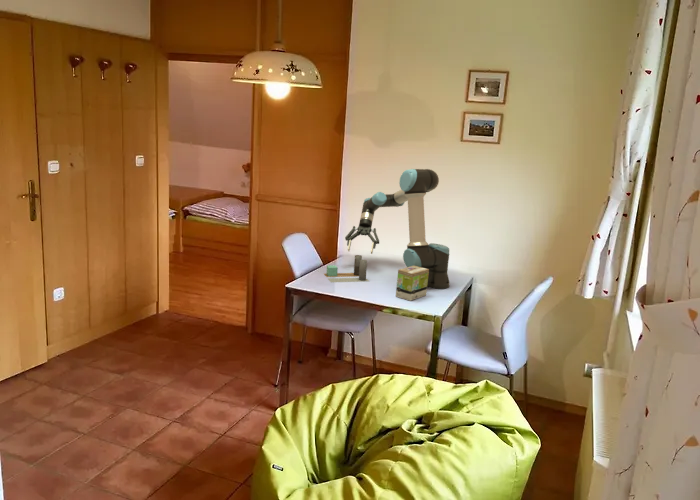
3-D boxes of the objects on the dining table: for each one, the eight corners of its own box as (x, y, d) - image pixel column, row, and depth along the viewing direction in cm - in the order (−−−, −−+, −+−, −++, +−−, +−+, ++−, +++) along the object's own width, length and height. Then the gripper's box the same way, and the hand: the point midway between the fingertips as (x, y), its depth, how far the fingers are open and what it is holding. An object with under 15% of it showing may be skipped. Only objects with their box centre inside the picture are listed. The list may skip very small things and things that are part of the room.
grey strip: (369, 283, 340) (370, 262, 337) (330, 284, 334) (331, 262, 331) (365, 279, 347) (366, 258, 344) (327, 280, 340) (328, 259, 338)
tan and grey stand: (363, 277, 349) (365, 257, 346) (326, 278, 343) (327, 258, 340) (360, 274, 356) (361, 254, 353) (323, 275, 350) (324, 254, 347)
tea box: (411, 301, 313) (413, 273, 310) (395, 296, 319) (397, 269, 316) (427, 295, 325) (429, 268, 321) (411, 291, 331) (413, 264, 327)
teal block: (337, 276, 346) (337, 267, 344) (328, 276, 344) (329, 267, 343) (334, 273, 350) (335, 265, 349) (326, 274, 349) (326, 265, 348)
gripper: (387, 227, 369) (381, 257, 358) (346, 223, 373) (339, 252, 362) (386, 219, 362) (380, 250, 352) (345, 215, 367) (338, 245, 356)
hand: (359, 251), depth 357 cm, fingers open, 13 cm apart
